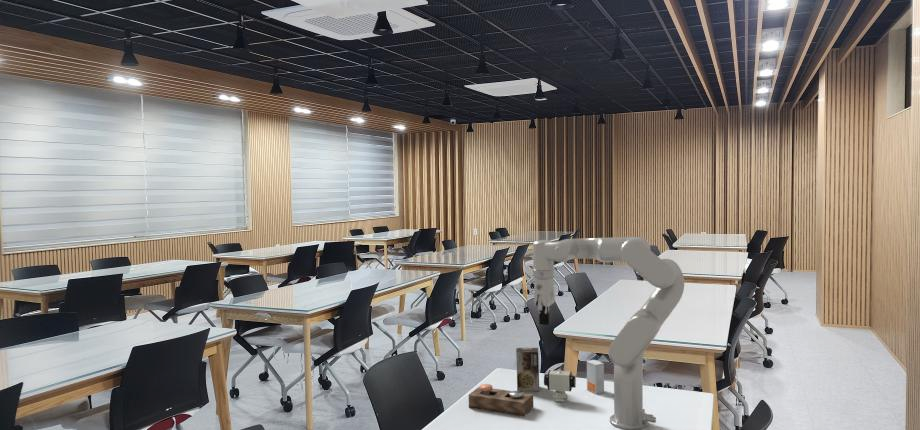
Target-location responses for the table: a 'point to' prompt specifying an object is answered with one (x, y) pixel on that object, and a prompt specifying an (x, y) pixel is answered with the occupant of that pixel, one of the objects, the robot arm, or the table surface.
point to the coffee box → (527, 369)
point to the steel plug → (515, 394)
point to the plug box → (501, 402)
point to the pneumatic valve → (560, 383)
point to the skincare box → (595, 376)
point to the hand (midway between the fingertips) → (544, 324)
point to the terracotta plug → (486, 388)
